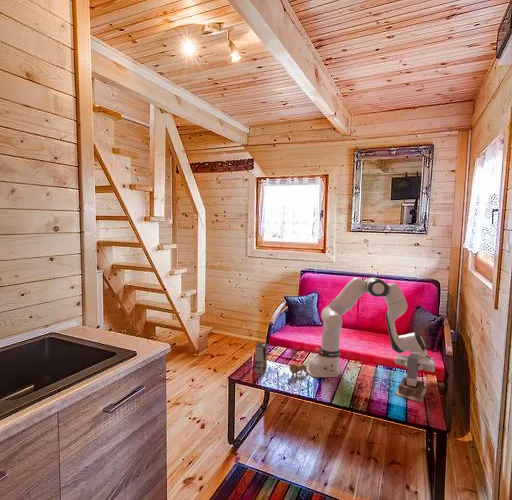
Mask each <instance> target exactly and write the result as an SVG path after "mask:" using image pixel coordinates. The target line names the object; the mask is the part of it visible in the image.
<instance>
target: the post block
mask: <svg viewBox="0 0 512 500" xmlns="http://www.w3.org/2000/svg"><path fill="white" fill-rule="evenodd" d="M424 385H425V382H424V381H422V380H417V384H416V386H415V387H414V386H410V385H407V376H406V377H405V376H403V377H402V380H401V381H400V382H399V384H398V388H397V390H396V392H395V394H394V395H395V396H398V397H401V398H406V399H409V400H413V401H416V402H419V403H423V402H424V401H423V400H424V398H425V396H426V393H427V390H428V389H427V388H425V386H424Z"/></svg>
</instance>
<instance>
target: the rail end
mask: <svg viewBox="0 0 512 500" xmlns="http://www.w3.org/2000/svg"><path fill="white" fill-rule="evenodd" d="M409 354H410V353H409ZM417 366H418V355H415V354H410V355H408V368H406V369H407V371H406V372H407V373H406V375H407V376H406V378H407V385H410V386H414V387H415V386H416V384H417V380H418V379H419V378H418V371H419V370H416V369H417V368H416V367H417ZM418 381H419V380H418Z"/></svg>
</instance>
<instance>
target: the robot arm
mask: <svg viewBox="0 0 512 500" xmlns="http://www.w3.org/2000/svg"><path fill="white" fill-rule="evenodd" d="M364 294H369V295H370V296H373V297H375V298H380V297H383V299H384V300H385V303H386V306H387V311H386V312H385V322H386V327H387V331H388V334H389V340H390V345H391V348H392V351H394V352H396V353H398V355H396V356H395V358H394V363H395V364H396V365H400V366H403V367H405V368H406V369H407V368H408V356H409V355H410V354H415V355H418V366H417V367H416V368H417V369H416V370H418V371H420V370H422V371H426V372H430V373H434V372H435V371H436V368H435V367H436V362H435V361H434V360H435V359H434V357H431V356H429V355H428V351H427V345H426V342H425V339H424V337H423V336H422V335H421V333H418V332H417V331H416V332H415V331H414V332H409V333H406V334H400V335H399V334H398V332H397V328H396V324H395V322H396V321H397V319H399V318H400V317H402V316H403V315H404V314H405V313H406V312H407V310H408V308H409V307H408V303H407V300H406V297H405V295H404V292H403V291H402V290H401V287H399V285H398V284H397V283H396V282H390V283H386V282H385V281H383V280H382V279H381V278H378V277H374V276H370V277H367V278H364V279H362V278H360V277H354V278H352V279H351V280H350V281H349V282H348V283H347V284H346V285H345V286H344V287H343V288H342V290H341V291H340V292H339V293H338V294H337V296H336V297H335V298H334V299H332V300H331V302H330V303H329V304H328V305H326V306H325V307H323V309H321V313H320V318H321V320H322V323H323V325H322V326H323V327H322V334H321V341H320V342H321V344H320V345H321V346H320V348H318V347H316V348H315V351H316V352H317V354H316V355H315V356H314V357H312V358H311V359H309V362H308V366H306V368H307V373H308V376H311V377H313V378H338V377H339V375H340V374H341V373H342V369H341V363H340V356H341V349H340V344H341V343H340V341H341V340H340V339H341V338H340V337H341V332H342V328H343V318H342V316H343V315H344V314H346V313H347V312H348V311H350V310H352V309H353V307H354V306H355V305H356V303H357V302H358V301H359V299H360V298H361V297H362V296H363V295H364ZM408 351H410V353H409V355H408V356H407V355H404V354H401V353H405V352H408Z"/></svg>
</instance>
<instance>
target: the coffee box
mask: <svg viewBox="0 0 512 500" xmlns="http://www.w3.org/2000/svg"><path fill="white" fill-rule="evenodd" d="M267 366H268V343H267V342H257V344H255V348H254V373H255V374H265V373H266V370H267V368H268V367H267Z"/></svg>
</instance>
